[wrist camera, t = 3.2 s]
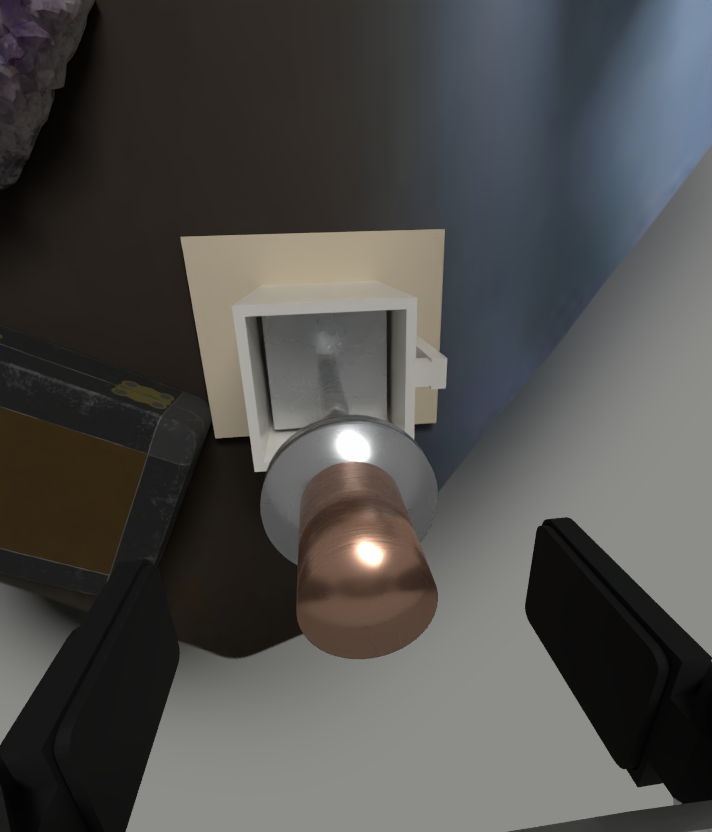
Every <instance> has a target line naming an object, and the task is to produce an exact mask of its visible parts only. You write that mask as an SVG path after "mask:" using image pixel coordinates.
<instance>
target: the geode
mask: <svg viewBox="0 0 712 832" xmlns="http://www.w3.org/2000/svg"><path fill="white" fill-rule="evenodd" d="M94 2H95V0H0V191H1V190H5V189H8V188H9V187H11V186H13V185H15V184H16V183H17V182H18V180H19V178H20V176H21V173H22V170H23V168H24V165H25V164H26V163H27V162H28V159H29V157H30V154H31V152H32V149H33V147H34V144H35V142H36V139H37V137H38V134H39V132H40V130H41V127H42V126H43V125H44V123H45V122H46V121H47V120H48V116H49V112H50V109H51V107H52V105H53V102H54V95H55V89H58V88H62V87H64V84H65V77H66V68H67V62H68V61H70V60H71V59H72V57H73V55H74V54H75V52H76V50H77V47H78V45H79V43H80V40H81V38H82V35H83V33H84V30H85V27H86V22H87V15H88V13H89V11H90V10H91V8H92V6H93V4H94Z"/></svg>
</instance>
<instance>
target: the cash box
mask: <svg viewBox="0 0 712 832" xmlns="http://www.w3.org/2000/svg"><path fill="white" fill-rule="evenodd" d="M211 423H212V416H211V410H210V405H209V404H208V403H207V402H206V401H205V400H203V399H202V398H200V397H198V396H195V395H192V394H189V393H187V392H184V391H181V390H179V389H176V388H173V387H170V386H168V385H165V384H162V383H159V382H157V381H154V380H151V379H148V378H146V377H143V376H140V375H137V374H135V373H132V372H129V371H126V370H124V369H121V368H118V367H115V366H113V365H110V364H107V363H104V362H102V361H99V360H96V359H93V358H91V357H88V356H85V355H82V354H80V353H77V352H74V351H71V350H69V349H66V348H63V347H60V346H58V345H55V344H52V343H49V342H47V341H44V340H41V339H38V338H36V337H33V336H30V335H27V334H25V333H22V332H19V331H16V330H14V329H11V328H8V327H5V326H3V325H0V574H3V575H7V576H12V577H16V578H20V579H25V580H29V581H33V582H37V583H42V584H46V585H50V586H55V587H59V588H63V589H68V590H72V591H76V592H81V593H85V594H89V595H94V596H99V594H100V592H101V591H102V589H103V587H104V586H105V584H106V583H107V581H108V579H109V578H110V576H111V574H112V573H113V571H114V570H115V568H116V566H117V565H118V564H119V563H120V562H122V561H130V560H140V559H148V560H149V561H150V563H151V565H154V564H155V565H157V566H158V564H159V562H160V560H161V558H162V556H163V553H164V551H165V549H166V547H167V544H168V541H169V538H170V536H171V533H172V530H173V528H174V525H175V522H176V519H177V517H178V514H179V511H180V508H181V506H182V503H183V500H184V497H185V495H186V492H187V489H188V486H189V483H190V481H191V478H192V475H193V472H194V470H195V467H196V464H197V461H198V459H199V456H200V453H201V450H202V448H203V445H204V442H205V439H206V437H207V434H208V431H209V428H210V425H211Z"/></svg>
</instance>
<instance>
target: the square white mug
mask: <svg viewBox="0 0 712 832" xmlns="http://www.w3.org/2000/svg"><path fill="white" fill-rule="evenodd" d="M444 237H445V229H434V230H400V231H366V232H331V233H297V234H263V235H229V236H194V237H181V243H182V249H183V254H184V260H185V266H186V272H187V278H188V283H189V289H190V295H191V301H192V306H193V312H194V318H195V324H196V330H197V335H198V341H199V347H200V353H201V358H202V364H203V370H204V376H205V382H206V387H207V393H208V399H209V405H210V410H211V416H212V422H213V428H214V434H215V438H229V437H243V436H250V441H251V448H252V456H253V463H254V470H255V472H262V471H267V468H268V466H269V464H270V461H271V460H272V458H273V456H274V455H275V453H276V452H277V450H278V449H279V448H280V447H281V445H282V444H283V443H284V442H285V441H286V440H287V439H288V438H290V437H291V436H292V435H293V434H295V433H296V432H297V431H299V430H300V429H302V428H293V429H279V430H274V421H273V412H272V404H271V395H270V386H269V377H268V368H267V360H266V351H265V342H264V333H263V324H262V316H271V315H292V314H314V313H336V312H357V311H379V310H386V327H387V422H390V423H392V424H393V425H395V426H397V427H399V428H400V429H402V430H403V431H404V432H406V433H407V434H408V435H409V436H410V437H411V438H412V439H413V440H414V424H425V423H436V418H437V395H438V389H443V388H446V373H447V358H446V357H445V356H444V355H442V354H441V353H440V352H439V350H440V328H441V305H442V282H443V260H444Z"/></svg>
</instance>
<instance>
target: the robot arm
mask: <svg viewBox="0 0 712 832" xmlns="http://www.w3.org/2000/svg"><path fill="white" fill-rule="evenodd" d="M525 610H526V615H527V618H528V620H529V622H530V624H531V626H532V627H533V629H534V630H535V632H536V634H537V635H538V637H539V638H540V640H541V642H542V643H543V645H544V647H545V648H546V650H547V652H548V653H549V655H550V657H551V658H552V660H553V661H554V663H555V665H556V666H557V668H558V670H559V671H560V673H561V674H562V676H563V678H564V679H565V681H566V683H567V684H568V686H569V688H570V689H571V691H572V693H573V694H574V696H575V697H576V699H577V701H578V702H579V704H580V706H581V707H582V709H583V711H584V712H585V714H586V715H587V717H588V719H589V720H590V722H591V723H592V725H593V727H594V729H595V730H596V732H597V733H598V735H599V737H600V738H601V740H602V742H603V743H604V745H605V746H606V748H607V750H608V751H609V753H610V755H611V756H612V758H613V759H614V761H615V762H616V764H617V765H619V767H620V768H622V769H627V771H628V773H629V774H630V776H631V777H632V779H633V781H634V782H635V784H636V785H637V787H643V786H648V785H654V784H661V783H664V785H665V786H666V788H667V789H668V791H669V792H670V793H671V795H672V796H673V798H674V805H673V806H666V807H659V808H652V809H645V810H638V811H631V812H624V813H618V814H612V815H606V816H600V817H594V818H588V819H582V820H576V821H570V822H564V823H558V824H552V825H546V826H540V827H534V828H528V829H521V830H515V831H510V832H712V662H711V660H712V657H711V656H710V655H709V654H708V653H707V652H706V651H705V650H704V649H703V648H702V647H701V646H700V645H699V644H698V643H697V642H696V641H694V639H693V638H692V637H691V636H690V635H689V634H687V632H685V631H684V630H683V629H682V628H681V627H680V626H679V625H678V624H677V623H676V622H675V621H674V620H673V619H672V618H671V617H670V616H669V615H668V614H667V613H666V612H665V611H664V610H663V609H662V608H661V607H660V606H659V605H658V604H657V603H656V602H655V601H654V600H653V599H652V598H651V597H650V596H649V595H648V594H647V593H646V592H645V591H644V590H643V589H642V588H641V587H640V586H639V585H638V584H637V583H636V582H635V581H634V580H633V579H632V578H631V577H630V576H629V575H628V574H627V573H626V572H625V571H624V570H623V569H622V568H621V567H620V566H619V565H618V564H617V563H616V562H615V561H614V560H613V559H612V558H611V557H610V556H609V555H608V554H607V553H605V552H604V551H603V550H602V549H601V548H600V547H599V546H598V545H597V544H596V543H595V542H594V541H593V540H592V539H591V538H590V537H589V536H588V535H587V534H586V533H585V532H584V531H583V530H582V529H581V528H580V527H579V526H578V525H577V524H576V523H575V522H574V521H573V520H572V519H570V518H567V517H566V518H557V519H547V520H545V521H544V522H543V524H542V526H539V527H538V528H537V532H536V539H535V544H534V551H533V557H532V564H531V571H530V577H529V584H528V590H527V597H526V603H525ZM179 653H180V652H179V644H178V640H177V637H176V633H175V629H174V625H173V621H172V617H171V613H170V609H169V605H168V602H167V598H166V594H165V590H164V586H163V582H162V578H161V574H160V571H159V567H158V566H157V565H155V564H154V565H151V563H150V561H149V560H148V559H140V560H130V561H122V562H120V563H119V564H118V565H117V566H116V568H115V570H114V571H113V573H112V574H111V576H110V578H109V579H108V581H107V583H106V584H105V586H104V587H103V589H102V591H101V592H100V594H99V596H98V597H97V599H96V601H95V602H94V604H93V605H92V607H91V609H90V610H89V612H88V614H87V615H86V617H85V619H84V620H83V622H82V624H81V625H80V627H78V628H76V629H75V630H73V631H72V633H71V634H70V635H69V636H68V638H67V639H66V641H65V643H64V644H63V646H62V648H61V649H60V651H59V652H58V654H57V655H56V657H55V659H54V660H53V662H52V663H51V665H50V666H49V668H48V670H47V671H46V673H45V675H44V676H43V678H42V679H41V681H40V682H39V684H38V686H37V687H36V689H35V690H34V692H33V694H32V695H31V697H30V698H29V700H28V702H27V703H26V705H25V707H24V708H23V710H22V711H21V713H20V714H19V716H18V718H17V719H16V721H15V722H14V724H13V726H12V727H11V729H10V730H9V732H8V733H7V735H6V737H5V738H4V740H3V741H2V743H1V745H0V832H125V831H126V828H127V825H128V822H129V819H130V816H131V812H132V809H133V806H134V803H135V800H136V796H137V793H138V790H139V787H140V784H141V781H142V777H143V774H144V771H145V768H146V765H147V761H148V758H149V755H150V752H151V749H152V746H153V742H154V739H155V736H156V733H157V730H158V726H159V723H160V720H161V717H162V714H163V710H164V707H165V704H166V701H167V698H168V695H169V691H170V688H171V685H172V682H173V679H174V675H175V672H176V669H177V666H178V662H179Z"/></svg>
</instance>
